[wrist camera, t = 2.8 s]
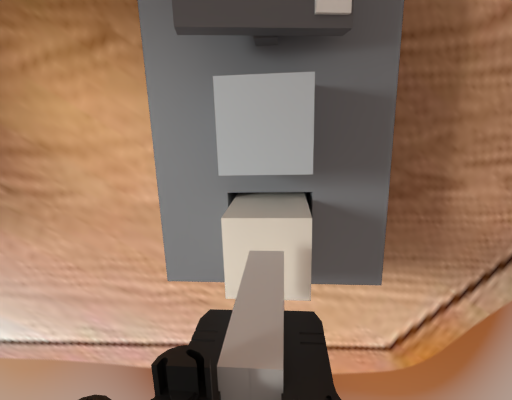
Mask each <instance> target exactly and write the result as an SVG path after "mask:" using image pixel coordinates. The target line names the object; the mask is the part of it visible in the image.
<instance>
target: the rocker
mask: <svg viewBox="0 0 512 400" xmlns="http://www.w3.org/2000/svg"><path fill="white" fill-rule="evenodd" d="M353 7H354V0H172V10H173V22H174V28H175V30H176V33H177V35H249V36H343V35H344V34H346V33H347V32H348V31H350V30H351V29H352V28H353Z"/></svg>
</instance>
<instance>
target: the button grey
mask: <svg viewBox="0 0 512 400" xmlns="http://www.w3.org/2000/svg"><path fill="white" fill-rule="evenodd" d="M213 87H214V104H215V122H216V139H217V156H218V174H219V176H232V175H308V174H313V149H314V94H315V72H293V73H270V74H247V75H225V76H213Z"/></svg>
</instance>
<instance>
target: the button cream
mask: <svg viewBox="0 0 512 400" xmlns="http://www.w3.org/2000/svg"><path fill="white" fill-rule="evenodd" d="M221 226H222V243H223V260H224V278H225V295H226V299H236V297H237V293H238V290H239V286H240V283H241V279H242V276H243V272H244V269H245V265H246V262H247V258H248V255H249V251H284V300H305V301H311V260H312V216H311V213H310V209H309V206H308V203H307V200H306V197H305V194H304V192H241V193H238V194H237V195H236V197H235V198H234V200H233V201H232V203H231V204H230V206H229V207H228V209H227V210H226V212H225V213H224V215H223V216H222V218H221Z"/></svg>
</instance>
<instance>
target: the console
mask: <svg viewBox="0 0 512 400" xmlns="http://www.w3.org/2000/svg"><path fill="white" fill-rule="evenodd" d="M403 8H404V0H354V7H353V28H352V29H351V30H350V31H348V32H347V33H346V34H344V35H343V36H249V35H177V33H176V30H175V28H174V22H173V10H172V0H138V9H139V18H140V28H141V37H142V46H143V56H144V65H145V74H146V83H147V93H148V102H149V111H150V121H151V130H152V139H153V149H154V158H155V167H156V176H157V186H158V195H159V204H160V214H161V223H162V232H163V241H164V251H165V260H166V269H167V279H168V281H192V282H225V278H224V260H223V243H222V226H221V218H222V216H223V215H224V213H225V212H226V210H227V209H228V207H229V206H230V204H231V203H232V201H233V200H234V198H235V197H236V195H237V194H238V193H241V192H304V194H305V197H306V200H307V203H308V206H309V209H310V213H311V216H312V260H311V284H344V285H381V283H382V271H383V258H384V246H385V233H386V221H387V208H388V196H389V183H390V171H391V158H392V146H393V133H394V121H395V108H396V96H397V83H398V71H399V58H400V46H401V33H402V21H403ZM293 72H315V94H314V149H313V174H308V175H232V176H219V174H218V156H217V139H216V122H215V104H214V87H213V76H225V75H247V74H270V73H293Z"/></svg>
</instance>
